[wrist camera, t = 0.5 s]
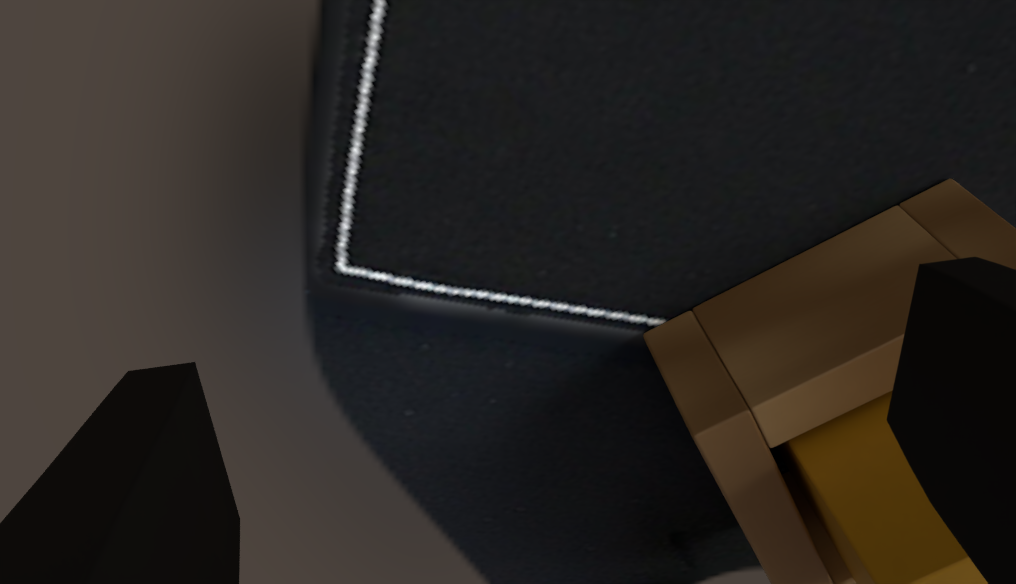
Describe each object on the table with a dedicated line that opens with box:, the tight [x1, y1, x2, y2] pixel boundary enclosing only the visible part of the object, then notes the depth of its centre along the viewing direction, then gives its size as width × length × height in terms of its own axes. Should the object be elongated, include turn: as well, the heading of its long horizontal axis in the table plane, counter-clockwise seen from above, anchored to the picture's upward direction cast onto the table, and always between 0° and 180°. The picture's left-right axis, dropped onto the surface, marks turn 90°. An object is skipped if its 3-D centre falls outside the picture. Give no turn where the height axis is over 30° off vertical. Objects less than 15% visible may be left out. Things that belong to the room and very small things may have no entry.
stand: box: [643, 179, 1016, 584], centre depth 21 cm, size 7×7×4 cm
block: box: [777, 390, 988, 584], centre depth 19 cm, size 4×4×7 cm
